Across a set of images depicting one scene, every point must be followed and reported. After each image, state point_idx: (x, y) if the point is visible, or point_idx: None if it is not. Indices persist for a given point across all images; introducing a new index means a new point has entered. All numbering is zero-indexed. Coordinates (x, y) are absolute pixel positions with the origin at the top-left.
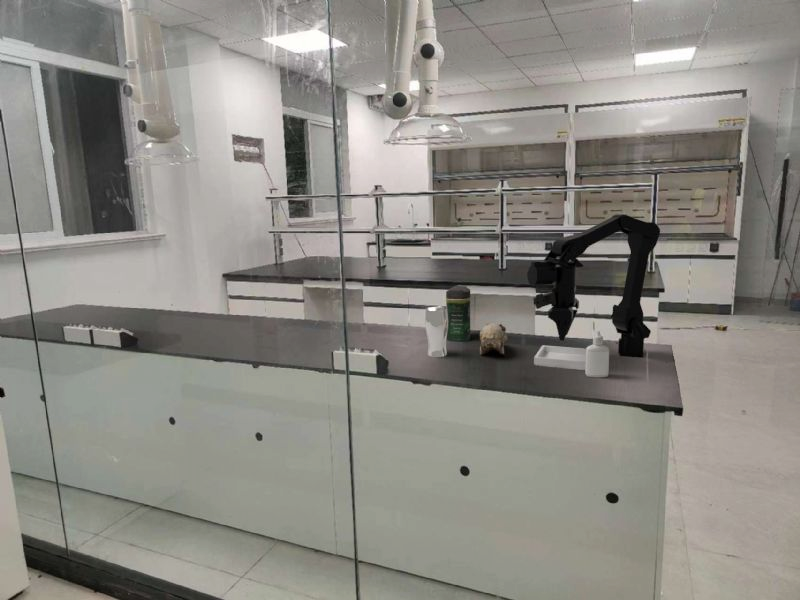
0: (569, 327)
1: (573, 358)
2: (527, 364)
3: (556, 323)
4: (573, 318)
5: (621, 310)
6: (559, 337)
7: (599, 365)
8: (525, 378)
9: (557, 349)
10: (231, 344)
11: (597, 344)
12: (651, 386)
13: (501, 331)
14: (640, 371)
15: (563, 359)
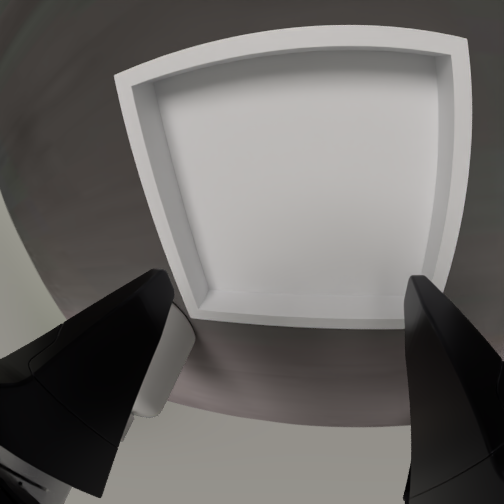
0: (411, 383)
1: (339, 242)
2: (148, 34)
3: (5, 364)
4: (410, 493)
5: None
6: (132, 282)
7: None
8: (25, 130)
9: (446, 147)
10: None
11: None
12: (177, 388)
13: None
14: (277, 396)
15: (163, 232)
